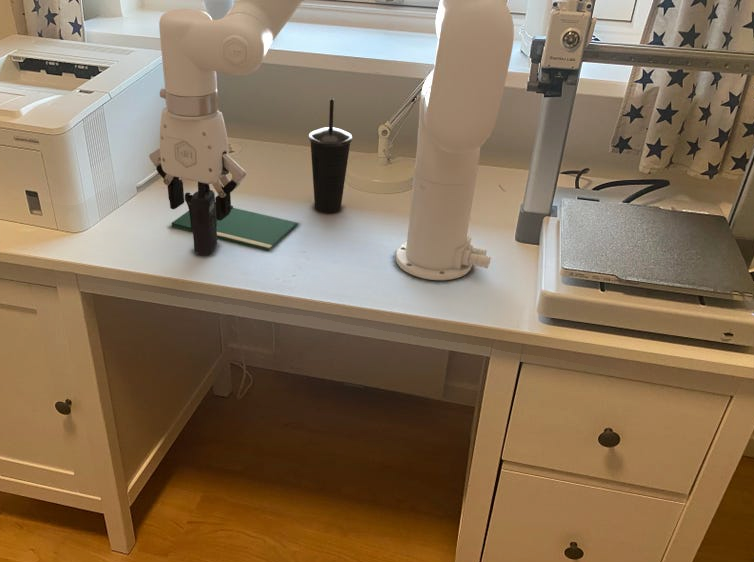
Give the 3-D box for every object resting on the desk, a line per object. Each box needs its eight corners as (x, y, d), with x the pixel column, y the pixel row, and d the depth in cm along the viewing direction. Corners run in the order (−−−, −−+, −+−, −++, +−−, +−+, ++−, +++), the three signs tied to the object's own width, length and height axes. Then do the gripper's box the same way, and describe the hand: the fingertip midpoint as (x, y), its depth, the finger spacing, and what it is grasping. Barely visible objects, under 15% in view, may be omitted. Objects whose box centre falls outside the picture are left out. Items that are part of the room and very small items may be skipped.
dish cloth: (297, 224, 134) (297, 220, 134) (268, 250, 126) (268, 246, 126) (204, 203, 140) (204, 199, 140) (171, 226, 132) (171, 222, 131)
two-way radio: (210, 258, 123) (205, 170, 114) (184, 255, 124) (176, 167, 115) (220, 242, 128) (215, 157, 119) (195, 240, 128) (188, 154, 119)
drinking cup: (344, 219, 137) (349, 108, 125) (303, 213, 138) (304, 103, 126) (351, 201, 143) (357, 95, 131) (312, 197, 144) (315, 90, 132)
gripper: (127, 99, 111) (141, 209, 122) (231, 119, 106) (236, 232, 116) (156, 86, 117) (167, 192, 127) (256, 104, 112) (259, 213, 122)
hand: (200, 211), depth 122 cm, fingers open, 8 cm apart
